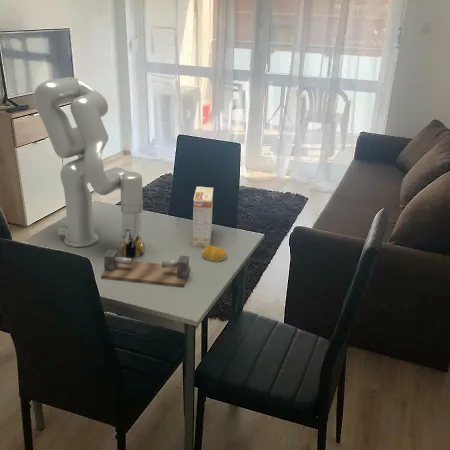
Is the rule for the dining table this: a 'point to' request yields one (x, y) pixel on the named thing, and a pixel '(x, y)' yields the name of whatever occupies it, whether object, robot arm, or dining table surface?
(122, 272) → the base
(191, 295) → the dining table surface
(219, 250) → the bread roll
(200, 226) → the coffeecake box
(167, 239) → the dining table surface
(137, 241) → the brass coupler
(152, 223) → the dining table surface
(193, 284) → the dining table surface
